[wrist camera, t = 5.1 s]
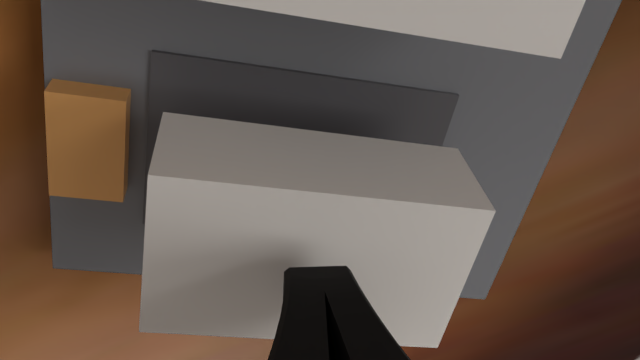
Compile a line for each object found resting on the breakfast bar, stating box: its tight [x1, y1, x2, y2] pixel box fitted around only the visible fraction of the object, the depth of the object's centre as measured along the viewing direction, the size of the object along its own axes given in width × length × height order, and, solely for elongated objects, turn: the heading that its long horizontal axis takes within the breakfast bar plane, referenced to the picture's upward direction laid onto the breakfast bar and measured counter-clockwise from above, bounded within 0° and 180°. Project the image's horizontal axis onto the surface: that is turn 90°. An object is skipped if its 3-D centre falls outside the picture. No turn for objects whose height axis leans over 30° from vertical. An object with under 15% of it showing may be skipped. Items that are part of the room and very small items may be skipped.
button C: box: [139, 112, 496, 348], centre depth 15 cm, size 8×4×3 cm, turn 79°
